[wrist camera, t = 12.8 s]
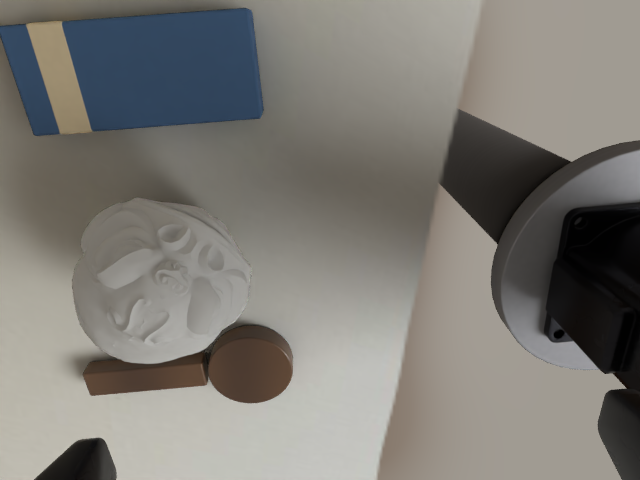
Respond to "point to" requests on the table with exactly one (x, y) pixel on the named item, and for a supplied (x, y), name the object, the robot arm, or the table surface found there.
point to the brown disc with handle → (207, 369)
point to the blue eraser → (136, 71)
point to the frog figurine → (158, 280)
